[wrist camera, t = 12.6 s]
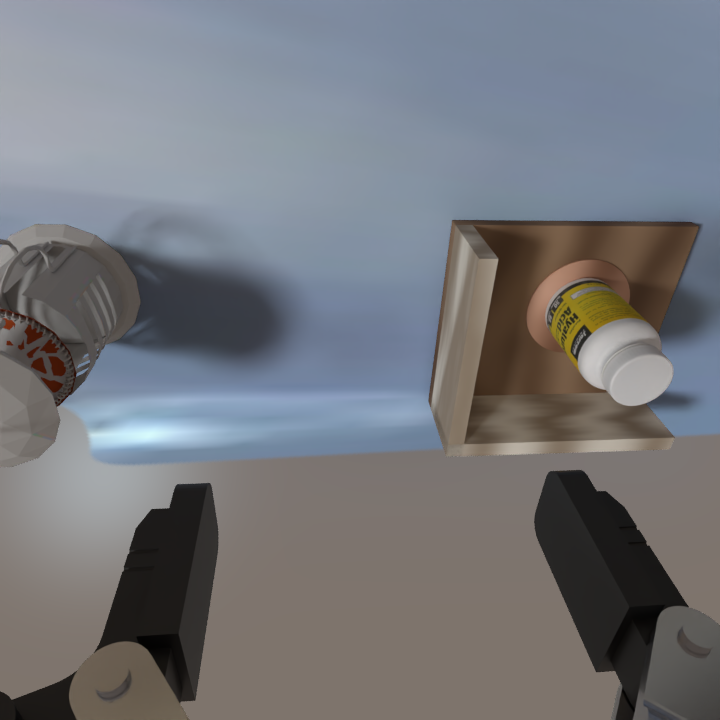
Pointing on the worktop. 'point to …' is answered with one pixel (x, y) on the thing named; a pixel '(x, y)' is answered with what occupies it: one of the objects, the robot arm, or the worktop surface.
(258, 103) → the worktop surface
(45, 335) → the french press
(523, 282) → the wooden l-shaped piece
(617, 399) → the supplement bottle
